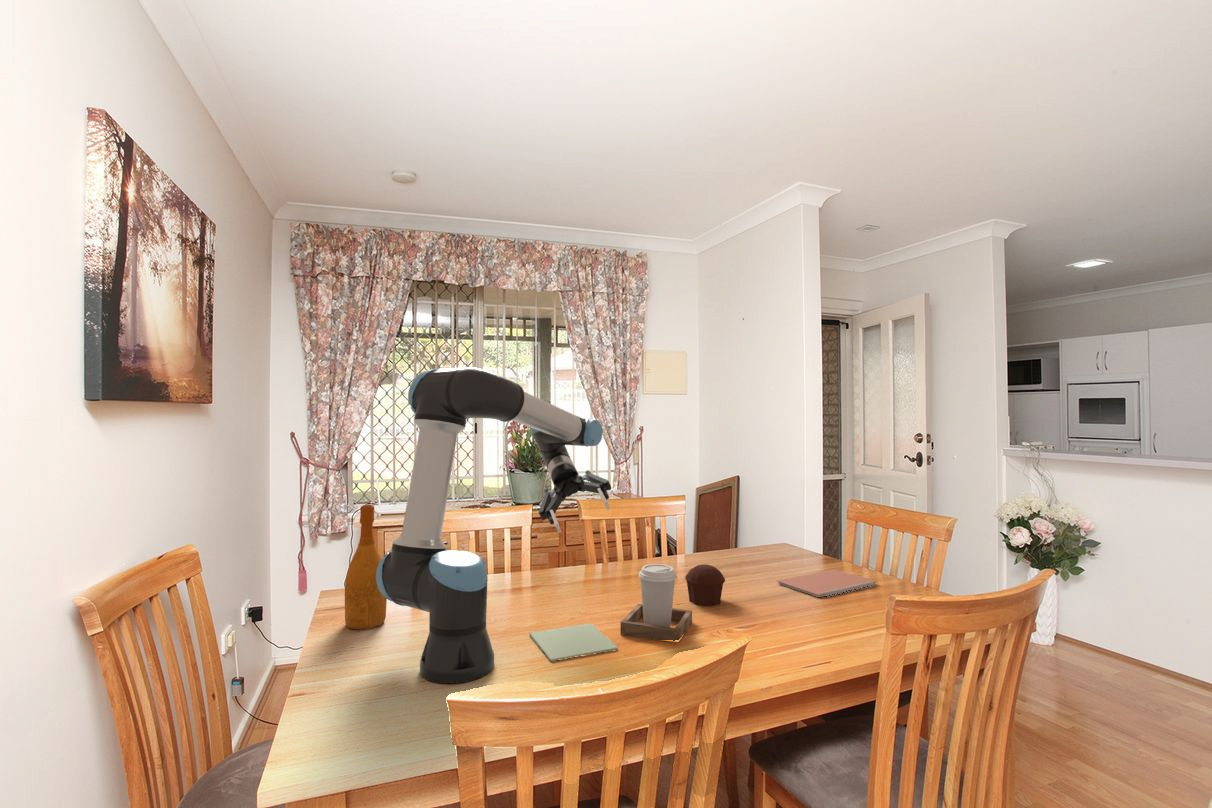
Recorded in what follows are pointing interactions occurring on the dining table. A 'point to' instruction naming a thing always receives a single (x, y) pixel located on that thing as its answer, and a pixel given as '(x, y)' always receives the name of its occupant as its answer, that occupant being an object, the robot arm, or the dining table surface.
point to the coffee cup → (657, 593)
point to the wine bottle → (364, 580)
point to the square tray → (654, 631)
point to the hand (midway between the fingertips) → (582, 517)
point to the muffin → (705, 585)
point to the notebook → (826, 583)
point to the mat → (572, 641)
